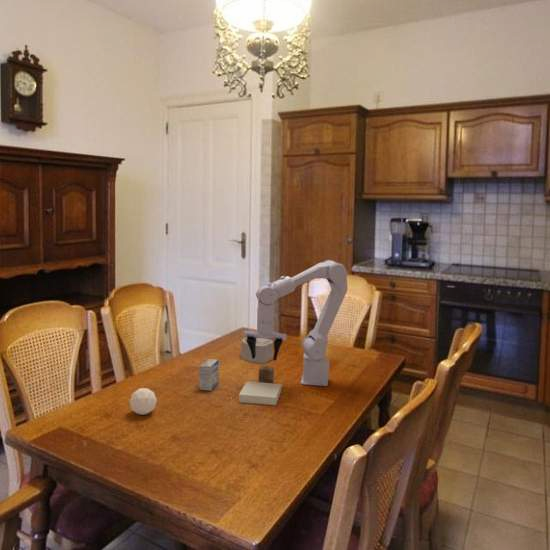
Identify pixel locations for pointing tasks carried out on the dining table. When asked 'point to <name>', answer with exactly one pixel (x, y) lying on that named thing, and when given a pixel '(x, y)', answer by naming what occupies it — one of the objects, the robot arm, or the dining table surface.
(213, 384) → the medicine box
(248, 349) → the lumpy-topped squat cylinder
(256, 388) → the base block
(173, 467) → the dining table surface
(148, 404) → the geometric ball
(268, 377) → the walnut block
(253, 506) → the dining table surface
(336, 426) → the dining table surface
